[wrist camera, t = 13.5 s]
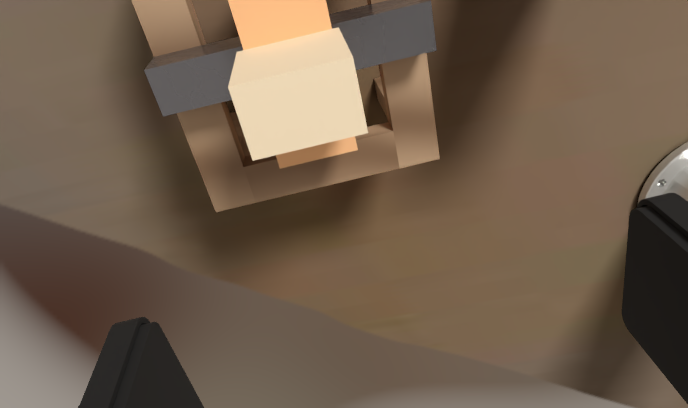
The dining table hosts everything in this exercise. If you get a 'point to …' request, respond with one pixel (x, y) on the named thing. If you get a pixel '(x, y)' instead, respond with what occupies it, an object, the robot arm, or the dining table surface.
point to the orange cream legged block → (294, 82)
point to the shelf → (264, 174)
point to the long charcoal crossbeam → (355, 25)
